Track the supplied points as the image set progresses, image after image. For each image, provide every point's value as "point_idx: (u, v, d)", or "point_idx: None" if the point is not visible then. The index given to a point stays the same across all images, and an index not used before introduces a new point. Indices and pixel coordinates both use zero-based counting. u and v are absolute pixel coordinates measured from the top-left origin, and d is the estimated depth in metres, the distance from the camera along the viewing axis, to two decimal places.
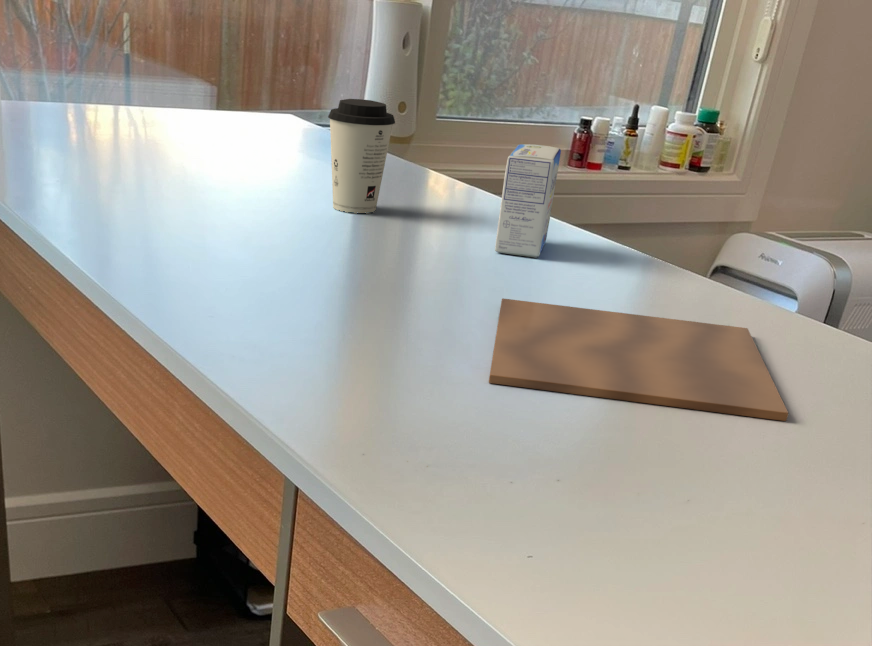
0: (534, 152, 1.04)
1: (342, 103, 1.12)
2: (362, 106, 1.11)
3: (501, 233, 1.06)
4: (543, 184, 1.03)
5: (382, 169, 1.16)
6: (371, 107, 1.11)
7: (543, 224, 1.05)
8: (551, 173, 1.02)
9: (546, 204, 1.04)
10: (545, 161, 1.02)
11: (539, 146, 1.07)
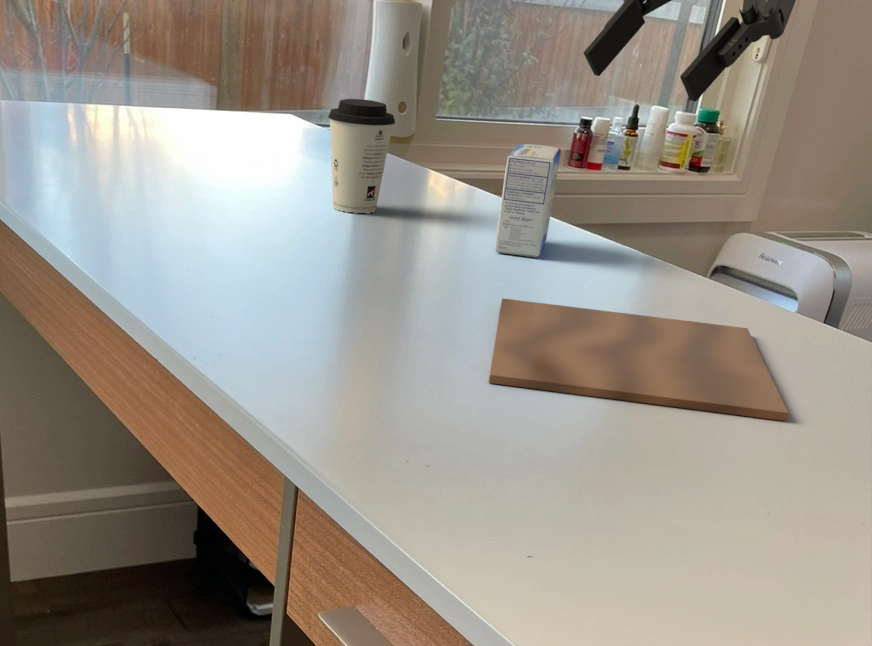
0: (534, 152, 1.04)
1: (342, 103, 1.12)
2: (362, 106, 1.11)
3: (501, 233, 1.06)
4: (543, 184, 1.03)
5: (382, 169, 1.16)
6: (371, 107, 1.11)
7: (543, 224, 1.05)
8: (551, 173, 1.02)
9: (546, 204, 1.04)
10: (545, 161, 1.02)
11: (539, 146, 1.07)
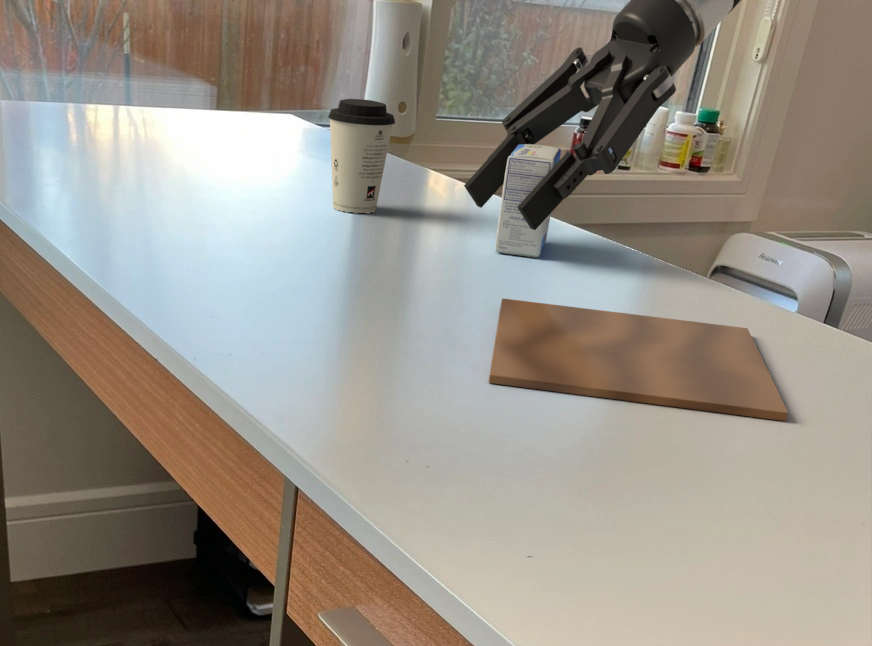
0: (534, 152, 1.04)
1: (342, 103, 1.12)
2: (362, 106, 1.11)
3: (501, 233, 1.06)
4: None
5: (382, 169, 1.16)
6: (371, 107, 1.11)
7: (543, 224, 1.05)
8: None
9: None
10: (545, 161, 1.02)
11: (539, 146, 1.07)
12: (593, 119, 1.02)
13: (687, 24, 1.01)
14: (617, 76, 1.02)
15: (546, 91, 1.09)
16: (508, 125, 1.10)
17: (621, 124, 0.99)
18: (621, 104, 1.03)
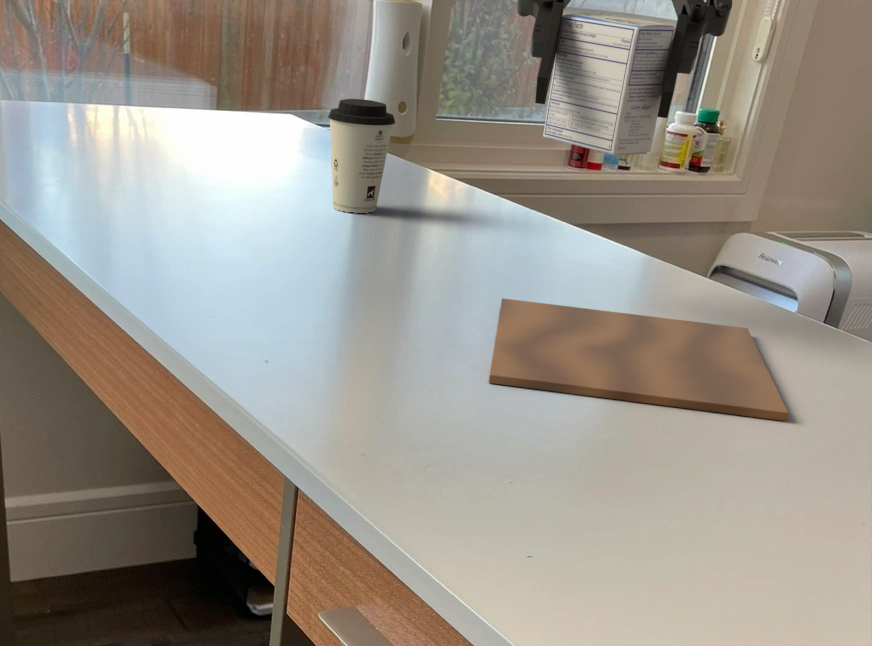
0: (631, 20, 0.83)
1: (342, 103, 1.12)
2: (362, 106, 1.11)
3: (622, 130, 0.84)
4: (665, 59, 0.83)
5: (382, 169, 1.16)
6: (371, 107, 1.11)
7: (658, 110, 0.85)
8: None
9: (663, 84, 0.84)
10: (669, 29, 0.82)
11: (592, 14, 0.85)
12: None
13: None
14: None
15: None
16: None
17: None
18: None
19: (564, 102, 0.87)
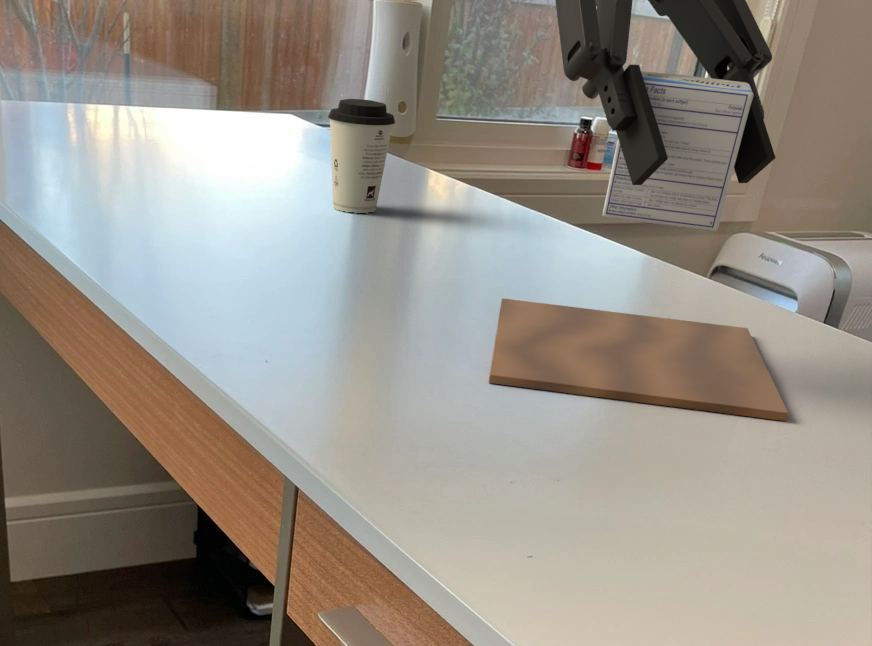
0: (711, 81, 0.73)
1: (342, 103, 1.12)
2: (362, 106, 1.11)
3: None
4: None
5: (382, 169, 1.16)
6: (371, 107, 1.11)
7: None
8: None
9: None
10: None
11: (647, 74, 0.73)
12: (714, 18, 0.75)
13: None
14: None
15: None
16: (598, 53, 0.70)
17: (753, 17, 0.76)
18: None
19: None
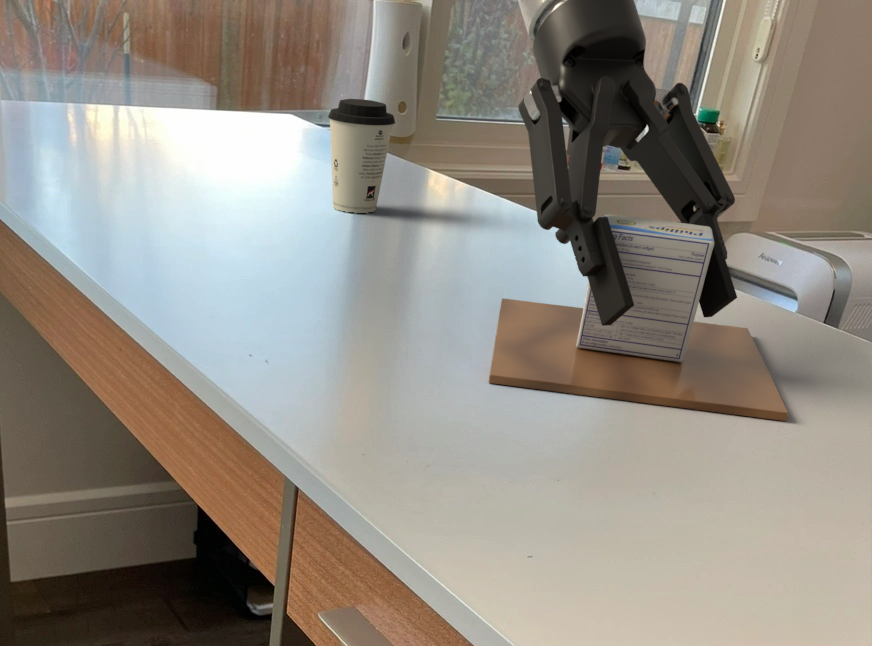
0: (676, 227, 0.78)
1: (342, 103, 1.12)
2: (362, 106, 1.11)
3: (689, 338, 0.80)
4: None
5: (382, 169, 1.16)
6: (371, 107, 1.11)
7: None
8: None
9: None
10: (712, 233, 0.79)
11: (616, 219, 0.79)
12: (679, 167, 0.80)
13: None
14: (655, 108, 0.79)
15: None
16: (569, 208, 0.76)
17: (717, 163, 0.82)
18: None
19: None
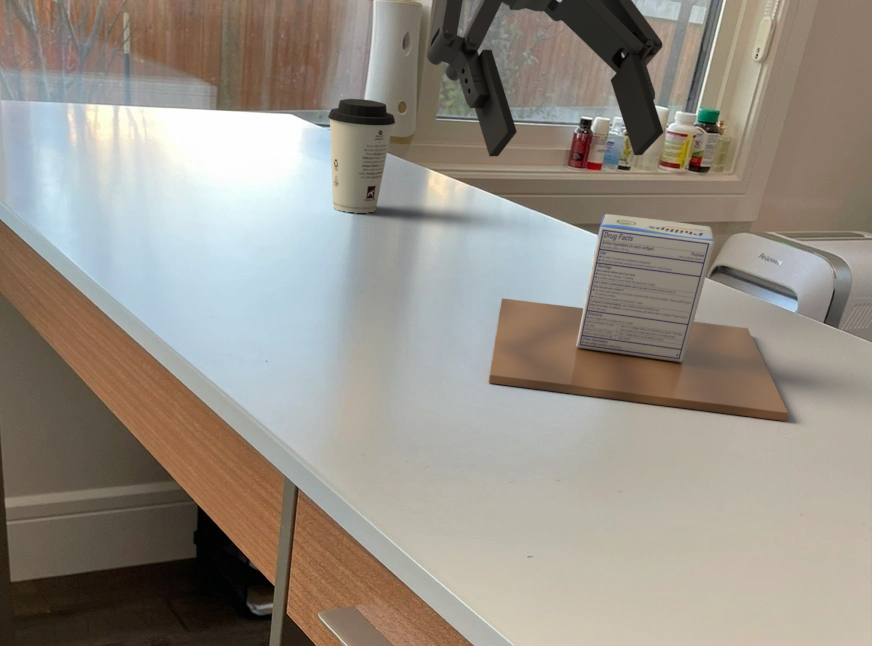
0: (676, 227, 0.78)
1: (342, 103, 1.12)
2: (362, 106, 1.11)
3: (689, 338, 0.80)
4: None
5: (382, 169, 1.16)
6: (371, 107, 1.11)
7: None
8: None
9: None
10: (712, 233, 0.79)
11: (616, 219, 0.79)
12: (604, 18, 0.85)
13: None
14: None
15: None
16: (453, 41, 0.80)
17: (639, 11, 0.87)
18: None
19: (609, 314, 0.80)
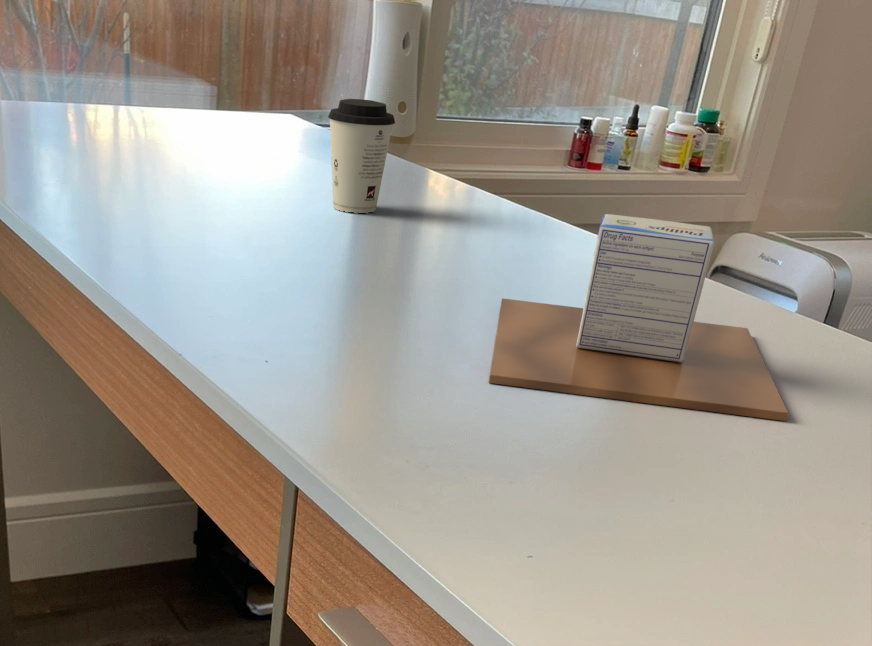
0: (676, 227, 0.78)
1: (342, 103, 1.12)
2: (362, 106, 1.11)
3: (689, 338, 0.80)
4: None
5: (382, 169, 1.16)
6: (371, 107, 1.11)
7: None
8: None
9: None
10: (712, 233, 0.79)
11: (616, 219, 0.79)
12: None
13: None
14: None
15: None
16: None
17: None
18: None
19: (609, 314, 0.80)
